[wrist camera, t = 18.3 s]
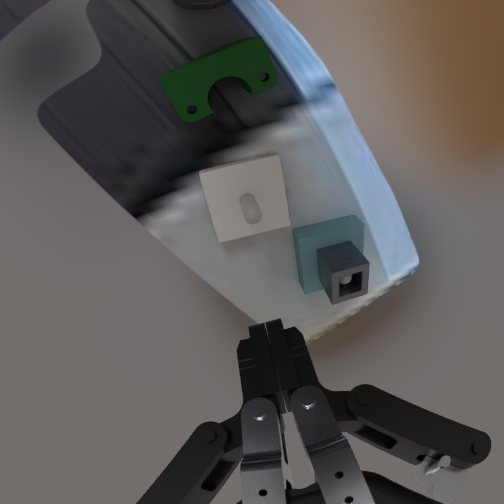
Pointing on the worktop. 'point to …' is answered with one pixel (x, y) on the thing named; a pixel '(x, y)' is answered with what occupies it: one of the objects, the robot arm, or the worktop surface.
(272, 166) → the rod stand
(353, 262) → the metal collar
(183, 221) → the worktop surface
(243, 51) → the clamp
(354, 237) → the block
